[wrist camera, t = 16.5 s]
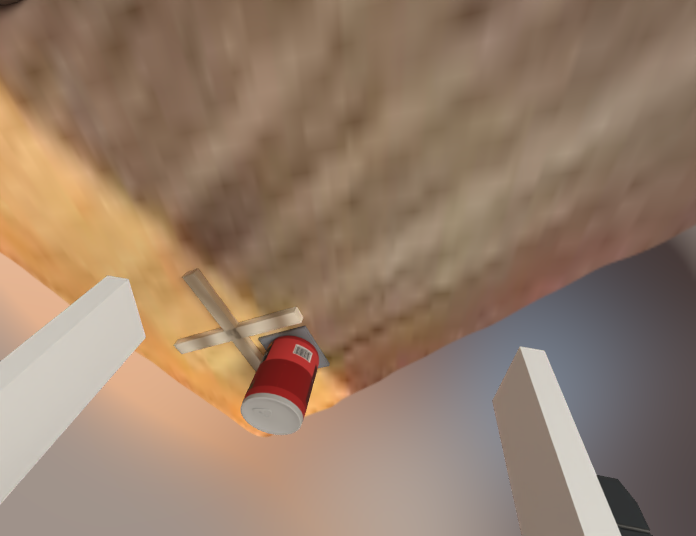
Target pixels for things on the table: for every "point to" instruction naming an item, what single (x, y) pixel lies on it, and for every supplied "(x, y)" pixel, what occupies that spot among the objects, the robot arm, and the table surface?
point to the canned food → (281, 386)
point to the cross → (241, 325)
